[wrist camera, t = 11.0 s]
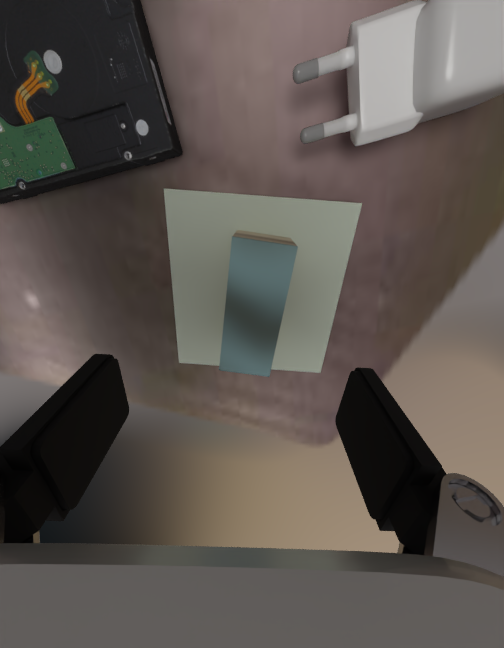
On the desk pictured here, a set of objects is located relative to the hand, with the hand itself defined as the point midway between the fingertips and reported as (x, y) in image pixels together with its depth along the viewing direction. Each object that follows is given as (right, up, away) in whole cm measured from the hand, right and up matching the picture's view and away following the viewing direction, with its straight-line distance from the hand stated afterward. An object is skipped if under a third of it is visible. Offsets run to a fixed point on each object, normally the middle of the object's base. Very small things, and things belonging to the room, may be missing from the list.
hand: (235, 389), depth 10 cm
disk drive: (-12, +18, +6) cm, 22 cm away
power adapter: (+9, +17, +5) cm, 20 cm away
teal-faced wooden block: (+1, +5, +10) cm, 12 cm away
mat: (+1, +5, +11) cm, 12 cm away
